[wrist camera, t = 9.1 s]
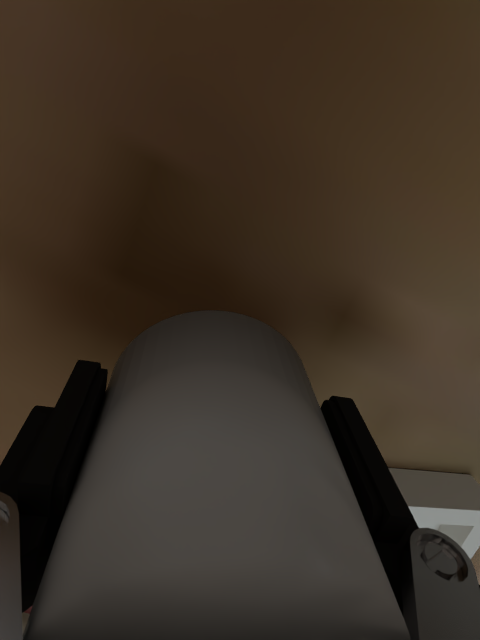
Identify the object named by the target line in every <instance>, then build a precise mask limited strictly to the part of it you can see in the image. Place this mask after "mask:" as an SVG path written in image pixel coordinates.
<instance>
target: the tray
mask: <svg viewBox="0 0 480 640" xmlns="http://www.w3.org/2000/svg"><path fill="white" fill-rule="evenodd" d="M388 469H389V471H390V473H391V474H392V476H393V478H394V480H395V482H396V484H397V486H398V488H399V490H400V492H401V494H402V496H403V498H404V500H405V501H406V503H407V505H408V507H409V509H410V511H411V513H412V515H413V517H414V519H415V521H416V523H417V525H418V527H419V528H431V529H435V530H438V531H440V532H442V533H444V534H446V535H447V536H449V537H450V538H451V539H453V540H454V541H455V542H457V543H458V544H459V546H460V547H461V548H462V549H463V550H464V551H465V552H466V554H467V555H468V557H469V558H470V560H471V558H472V557H473V555H474V554H475V552H476V551H477V549H478V548H479V546H480V485H479V484H478V483H477V481H476V480H475V479H474V478H473V477H472V475H468V474H456V473H444V472H432V471H420V470H409V469H397V468H388Z"/></svg>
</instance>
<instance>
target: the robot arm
mask: <svg viewBox="0 0 480 640" xmlns="http://www.w3.org/2000/svg"><path fill="white" fill-rule="evenodd" d="M107 373H108V370H107V369H101V364H100V363H98V362H91V361H84V360H78V362H77V363H76V365H75V367H74V369H73V371H72V374H71V376H70V378H69V380H68V382H67V384H66V386H65V388H64V390H63V392H62V394H61V396H60V398H59V400H58V402H57V404H56V406H55V408H53V407H45V406H37V405H36V406H35V407H34V408H33V409H32V411H31V412H30V414H29V416H28V418H27V419H26V421H25V423H24V425H23V426H22V428H21V430H20V432H19V433H18V435H17V437H16V439H15V440H14V442H13V444H12V446H11V448H10V449H9V451H8V453H7V455H6V456H5V458H4V460H3V462H2V463H1V465H0V640H23V631H22V613H23V612H25V611H26V610H27V609H29V608H30V607H31V606H33V603H34V600H35V597H36V594H37V592H38V589H39V586H40V583H41V580H42V577H43V574H44V571H45V568H46V565H47V562H48V559H49V556H50V554H51V551H52V548H53V545H54V542H55V539H56V536H57V533H58V530H59V527H60V525H61V522H62V519H63V516H64V513H65V510H66V507H67V504H68V502H69V499H70V496H71V493H72V490H73V487H74V484H75V481H76V478H77V475H78V472H79V469H80V466H81V463H82V461H83V458H84V455H85V452H86V449H87V446H88V443H89V440H90V437H91V434H92V431H93V428H94V425H95V422H96V420H97V417H98V414H99V411H100V408H101V405H102V402H103V399H104V396H105V392H106V383H107ZM321 411H322V414H323V416H324V419H325V421H326V424H327V426H328V429H329V431H330V434H331V436H332V439H333V441H334V444H335V446H336V449H337V451H338V454H339V456H340V459H341V462H342V464H343V467H344V469H345V472H346V474H347V477H348V479H349V482H350V484H351V487H352V489H353V492H354V494H355V497H356V499H357V502H358V504H359V507H360V510H361V512H362V515H363V517H364V520H365V522H366V525H367V527H368V530H369V532H370V535H371V537H372V540H373V542H374V545H375V547H376V550H377V552H378V555H379V558H380V560H381V563H382V565H383V568H384V570H385V573H386V575H387V578H388V580H389V583H390V585H391V588H392V590H393V593H394V595H395V598H396V600H397V603H398V606H399V608H400V611H401V613H402V616H403V618H404V621H405V623H406V626H407V629H408V632H409V635H410V640H480V585H479V584H478V580H477V576H476V572H475V569H474V566H473V564H472V561H471V560H470V558H469V557H468V555H467V554H466V552H465V551H464V550H463V549H462V548H461V547H460V546H459V544H458V543H457V542H455V541H454V540H453V539H451V538H450V537H449V536H447V535H446V534H444V533H442V532H440V531H438V530H435V529H431V528H419V527H418V525H417V523H416V521H415V519H414V517H413V515H412V513H411V511H410V509H409V507H408V505H407V503H406V501H405V500H404V498H403V496H402V494H401V492H400V490H399V488H398V486H397V484H396V482H395V480H394V478H393V476H392V474H391V473H390V471H389V469H388V467H387V465H386V463H385V461H384V459H383V457H382V455H381V453H380V451H379V449H378V447H377V445H376V444H375V442H374V440H373V438H372V436H371V434H370V432H369V430H368V428H367V426H366V424H365V422H364V420H363V418H362V416H361V415H360V413H359V411H358V409H357V407H356V405H355V403H354V401H353V400H352V399H351V398H345V397H338V396H331V397H330V399H329V400H325V401H324V402H323V404H322V406H321Z"/></svg>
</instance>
